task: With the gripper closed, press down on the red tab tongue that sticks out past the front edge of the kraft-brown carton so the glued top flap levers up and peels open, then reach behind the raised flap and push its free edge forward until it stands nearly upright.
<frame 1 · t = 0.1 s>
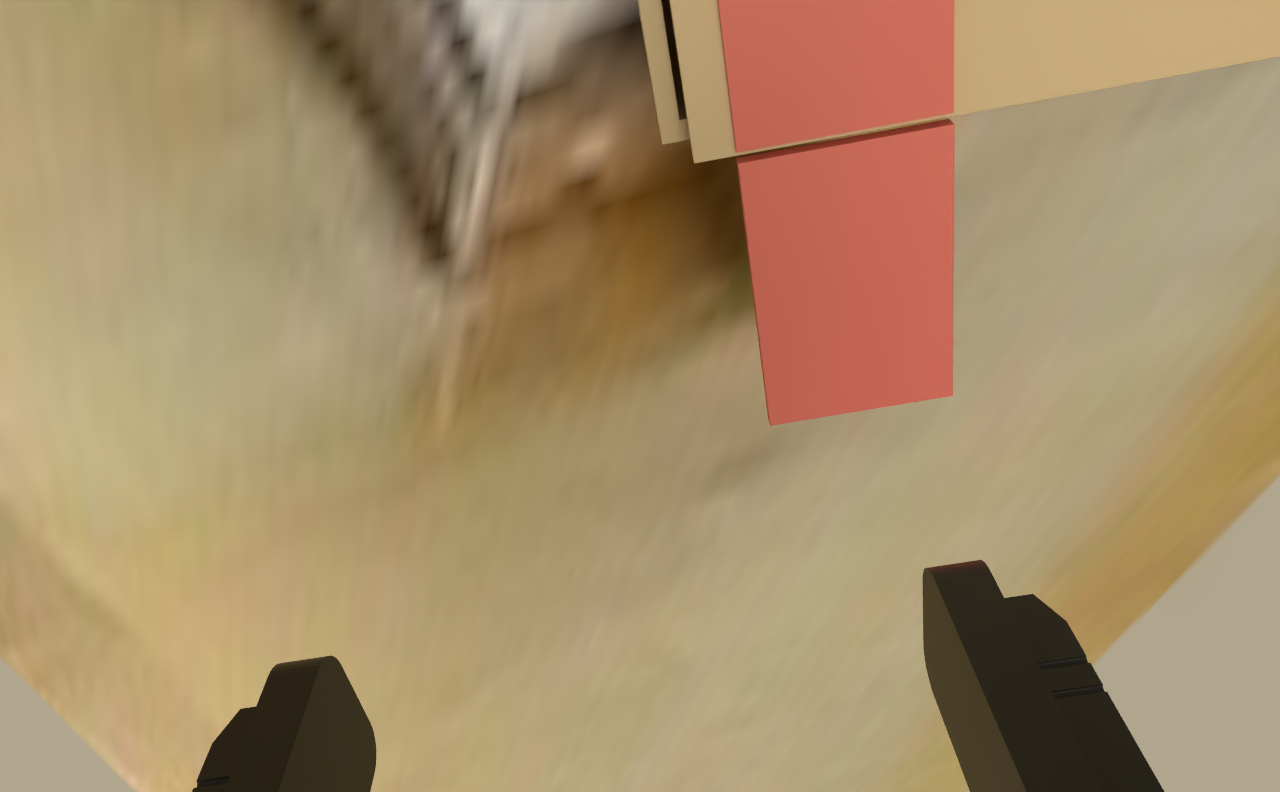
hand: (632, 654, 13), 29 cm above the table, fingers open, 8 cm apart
flap: (1022, 89, 26), point 12 cm above the table, hinge at 0.0°
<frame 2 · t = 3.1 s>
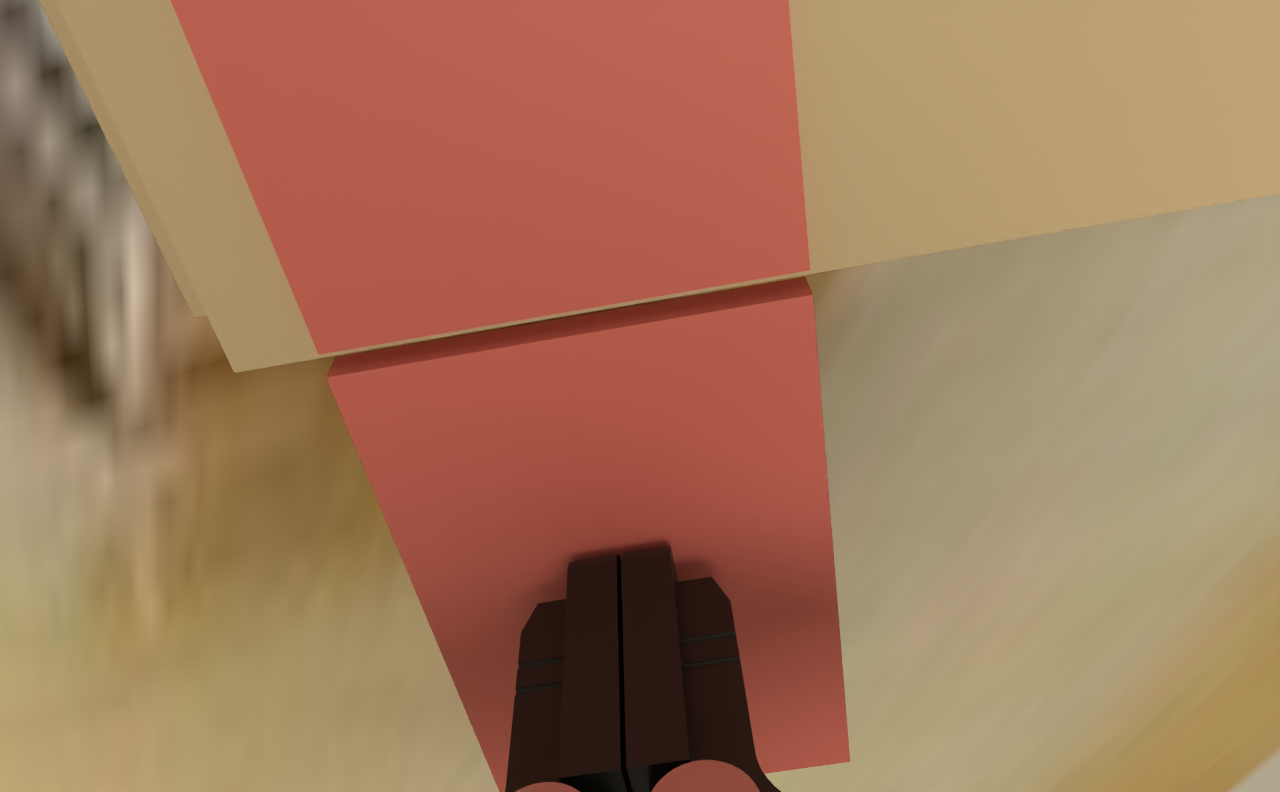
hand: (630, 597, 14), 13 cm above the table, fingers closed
flap: (971, 214, 11), point 12 cm above the table, hinge at 0.3°, touching gripper
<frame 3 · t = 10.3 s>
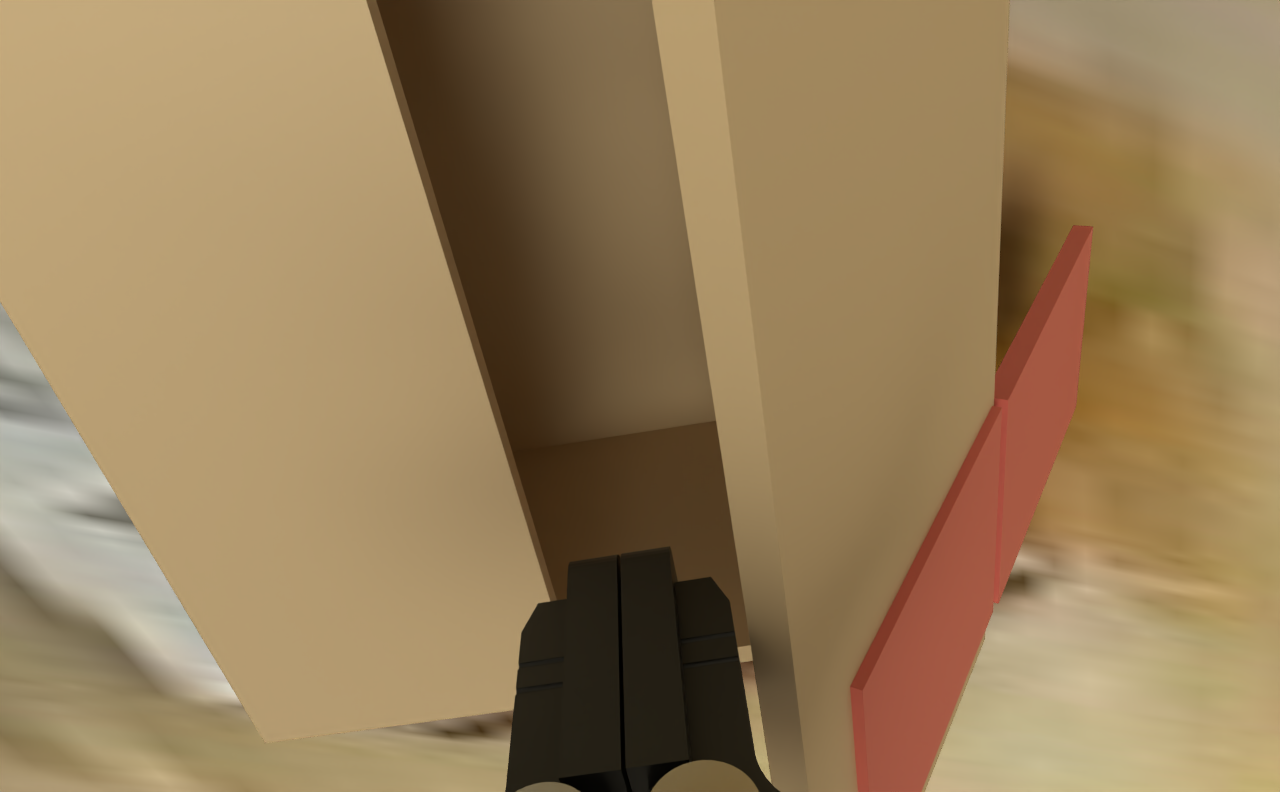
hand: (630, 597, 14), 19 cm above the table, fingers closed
flap: (983, 325, 18), point 13 cm above the table, hinge at 56.6°, touching gripper
carton: (543, 191, 30), on the table
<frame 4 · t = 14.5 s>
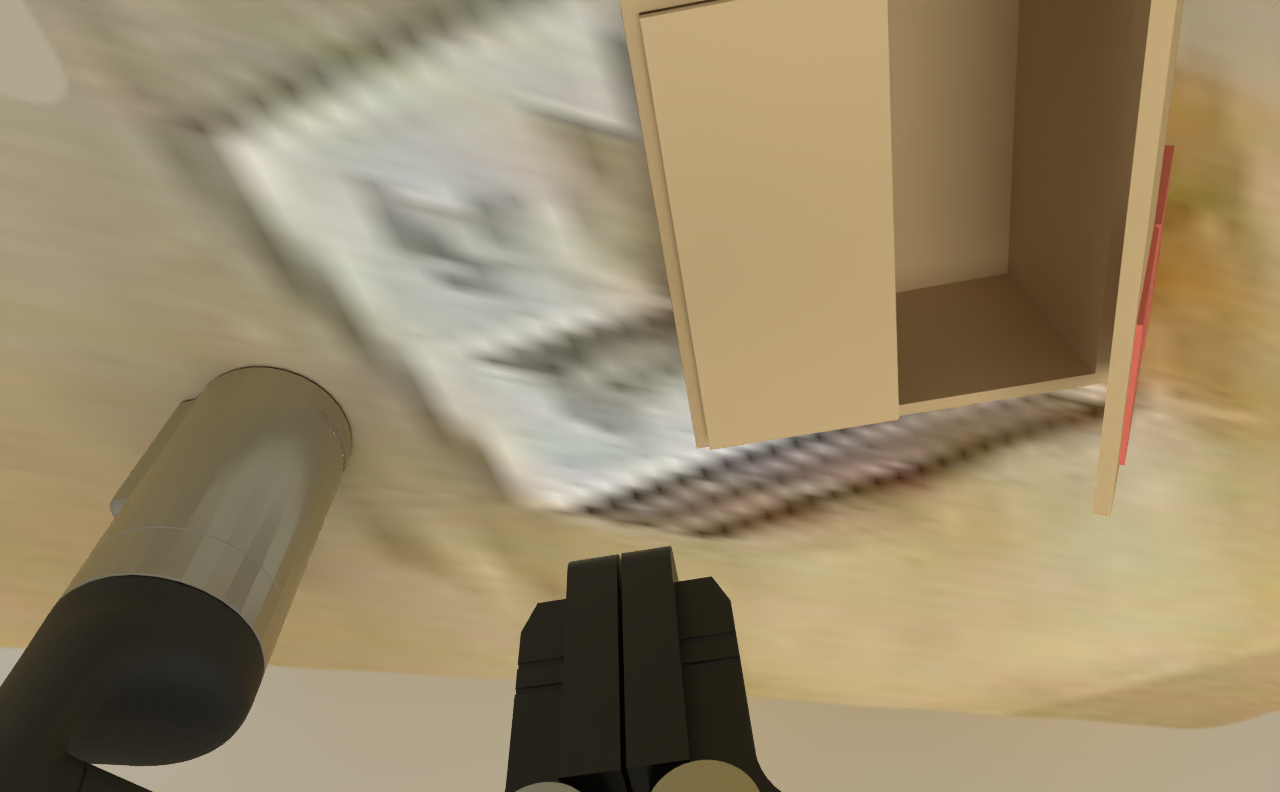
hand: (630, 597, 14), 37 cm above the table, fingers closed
flap: (1154, 181, 36), point 13 cm above the table, hinge at 60.0°
carton: (834, 132, 47), on the table
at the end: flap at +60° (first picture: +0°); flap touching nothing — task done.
